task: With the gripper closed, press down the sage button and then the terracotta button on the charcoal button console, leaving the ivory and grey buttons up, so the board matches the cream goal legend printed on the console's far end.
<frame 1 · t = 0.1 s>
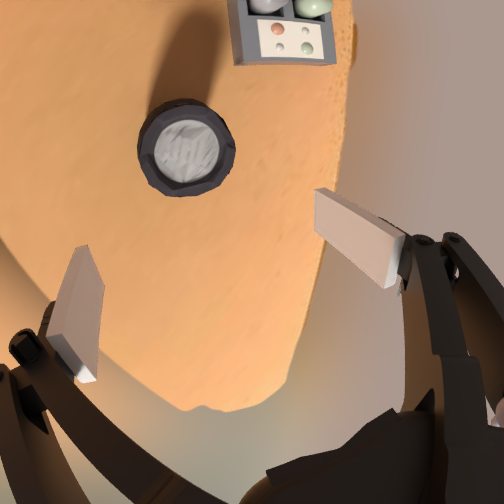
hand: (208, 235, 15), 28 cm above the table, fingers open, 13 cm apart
portable speaker: (170, 134, 36), on the table
button sage: (311, 4, 27), point 5 cm above the table, slide at 0.0 cm
console: (273, 5, 30), on the table
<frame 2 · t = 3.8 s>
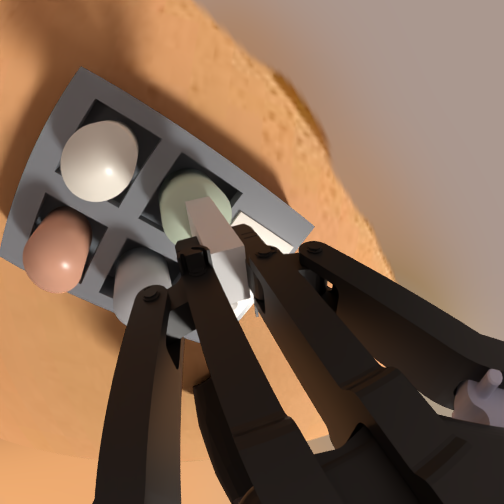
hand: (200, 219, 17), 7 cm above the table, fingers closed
button terracotta: (59, 247, 16), point 5 cm above the table, slide at 0.0 cm
portable speaker: (217, 384, 37), on the table
button grey: (142, 287, 20), point 5 cm above the table, slide at 0.0 cm
button sage: (191, 206, 19), point 5 cm above the table, slide at 0.7 cm, touching gripper
console: (151, 216, 23), on the table
button ivory: (103, 156, 14), point 5 cm above the table, slide at 0.0 cm
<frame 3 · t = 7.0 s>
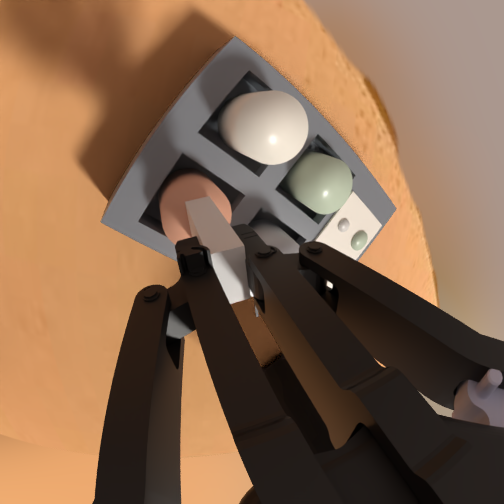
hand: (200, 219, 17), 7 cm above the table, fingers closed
button terracotta: (191, 206, 19), point 4 cm above the table, slide at 1.2 cm, touching gripper
portable speaker: (281, 365, 39), on the table
button grey: (269, 257, 22), point 5 cm above the table, slide at 0.0 cm
button sage: (314, 178, 22), point 4 cm above the table, slide at 1.7 cm
console: (261, 192, 25), on the table
button ivory: (259, 124, 16), point 5 cm above the table, slide at 0.0 cm
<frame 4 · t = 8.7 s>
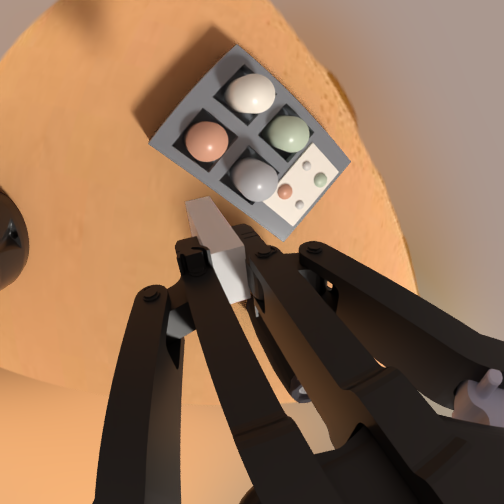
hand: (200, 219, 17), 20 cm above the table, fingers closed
button terracotta: (204, 140, 30), point 4 cm above the table, slide at 1.7 cm
portable speaker: (266, 300, 49), on the table
button grey: (253, 178, 32), point 5 cm above the table, slide at 0.0 cm
button sage: (284, 132, 32), point 4 cm above the table, slide at 1.7 cm
console: (251, 144, 35), on the table
button ivory: (248, 94, 27), point 5 cm above the table, slide at 0.0 cm
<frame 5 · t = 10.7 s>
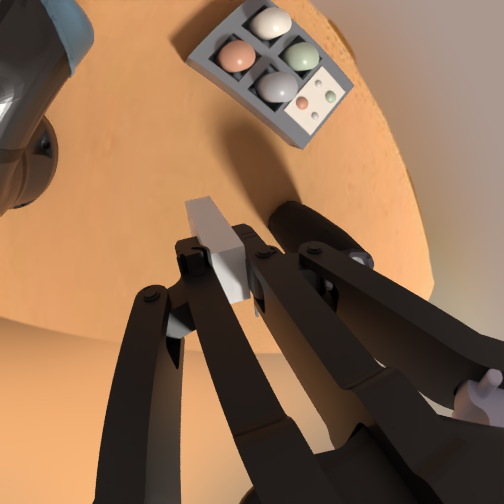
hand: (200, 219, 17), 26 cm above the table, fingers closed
button terracotta: (234, 57, 31), point 4 cm above the table, slide at 1.7 cm
portable speaker: (286, 220, 51), on the table
button grey: (275, 87, 33), point 5 cm above the table, slide at 0.0 cm
button sage: (298, 57, 33), point 4 cm above the table, slide at 1.7 cm
console: (269, 70, 37), on the table
button ivory: (269, 24, 28), point 5 cm above the table, slide at 0.0 cm
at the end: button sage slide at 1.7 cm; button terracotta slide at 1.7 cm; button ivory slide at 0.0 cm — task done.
